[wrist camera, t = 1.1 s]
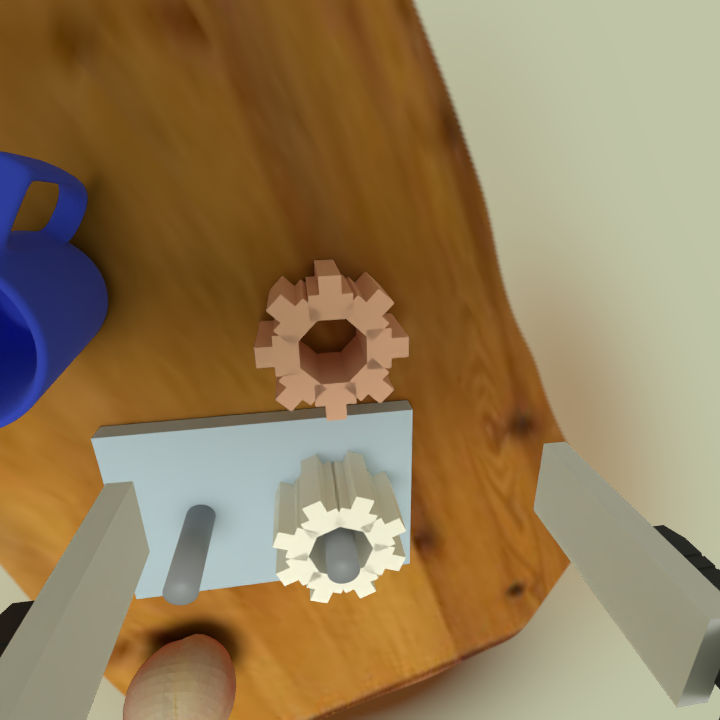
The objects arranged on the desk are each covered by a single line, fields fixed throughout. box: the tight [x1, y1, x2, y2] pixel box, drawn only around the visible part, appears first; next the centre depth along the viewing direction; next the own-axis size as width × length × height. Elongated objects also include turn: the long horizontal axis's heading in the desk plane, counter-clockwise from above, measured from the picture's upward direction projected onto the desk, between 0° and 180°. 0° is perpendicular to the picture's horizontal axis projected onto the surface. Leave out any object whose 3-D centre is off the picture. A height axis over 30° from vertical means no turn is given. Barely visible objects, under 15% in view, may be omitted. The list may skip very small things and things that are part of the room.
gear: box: [272, 451, 406, 603], centre depth 31 cm, size 9×9×5 cm
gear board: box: [91, 400, 413, 605], centre depth 31 cm, size 14×21×8 cm, turn 92°
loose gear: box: [254, 259, 409, 421], centre depth 28 cm, size 9×9×5 cm
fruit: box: [123, 634, 236, 720], centre depth 35 cm, size 8×8×8 cm
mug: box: [0, 152, 108, 428], centre depth 22 cm, size 8×12×10 cm
